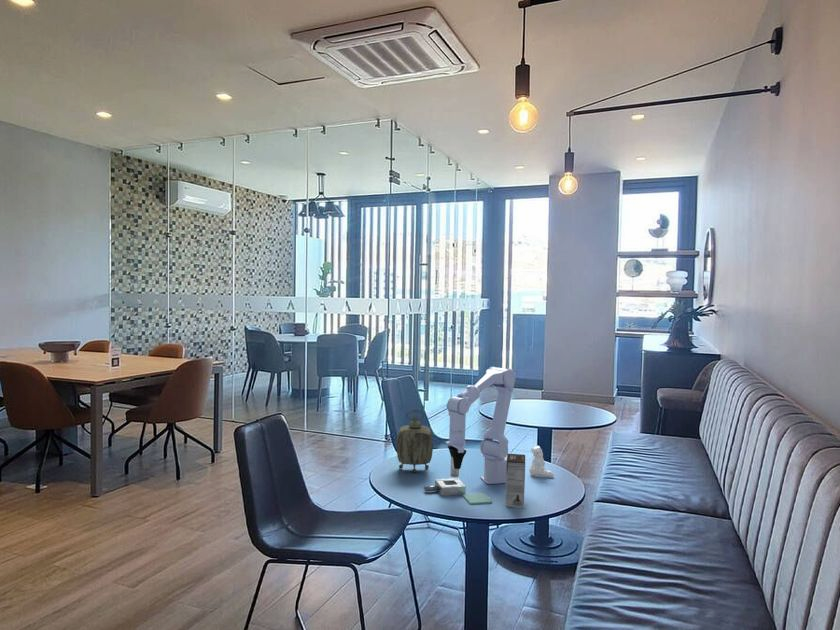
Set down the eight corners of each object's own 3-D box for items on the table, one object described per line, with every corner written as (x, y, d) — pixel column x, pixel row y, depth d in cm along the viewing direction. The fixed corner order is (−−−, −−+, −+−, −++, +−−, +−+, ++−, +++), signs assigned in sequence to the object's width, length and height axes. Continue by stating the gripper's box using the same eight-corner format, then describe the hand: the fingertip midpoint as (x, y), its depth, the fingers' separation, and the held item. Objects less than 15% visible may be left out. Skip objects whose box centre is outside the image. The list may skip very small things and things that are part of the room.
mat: (483, 494, 196) (484, 493, 196) (492, 503, 189) (492, 501, 189) (462, 496, 194) (462, 494, 194) (470, 504, 187) (470, 502, 187)
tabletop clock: (431, 467, 226) (432, 408, 225) (432, 475, 217) (434, 412, 216) (396, 467, 225) (397, 407, 224) (396, 474, 216) (397, 412, 215)
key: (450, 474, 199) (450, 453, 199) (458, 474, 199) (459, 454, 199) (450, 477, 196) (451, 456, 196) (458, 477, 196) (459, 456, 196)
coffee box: (505, 497, 195) (507, 452, 194) (523, 498, 193) (525, 454, 193) (505, 506, 186) (506, 460, 185) (524, 508, 184) (525, 461, 184)
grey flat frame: (457, 485, 205) (458, 478, 205) (465, 494, 196) (465, 486, 196) (421, 487, 202) (422, 480, 202) (428, 496, 193) (428, 488, 193)
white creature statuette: (555, 477, 218) (556, 448, 217) (537, 480, 214) (538, 450, 213) (540, 470, 226) (541, 442, 226) (523, 473, 222) (524, 444, 222)
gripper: (442, 425, 204) (441, 461, 204) (450, 435, 189) (449, 473, 190) (461, 425, 205) (460, 460, 205) (470, 435, 190) (469, 473, 191)
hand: (456, 467), depth 198 cm, fingers closed on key, 3 cm apart
